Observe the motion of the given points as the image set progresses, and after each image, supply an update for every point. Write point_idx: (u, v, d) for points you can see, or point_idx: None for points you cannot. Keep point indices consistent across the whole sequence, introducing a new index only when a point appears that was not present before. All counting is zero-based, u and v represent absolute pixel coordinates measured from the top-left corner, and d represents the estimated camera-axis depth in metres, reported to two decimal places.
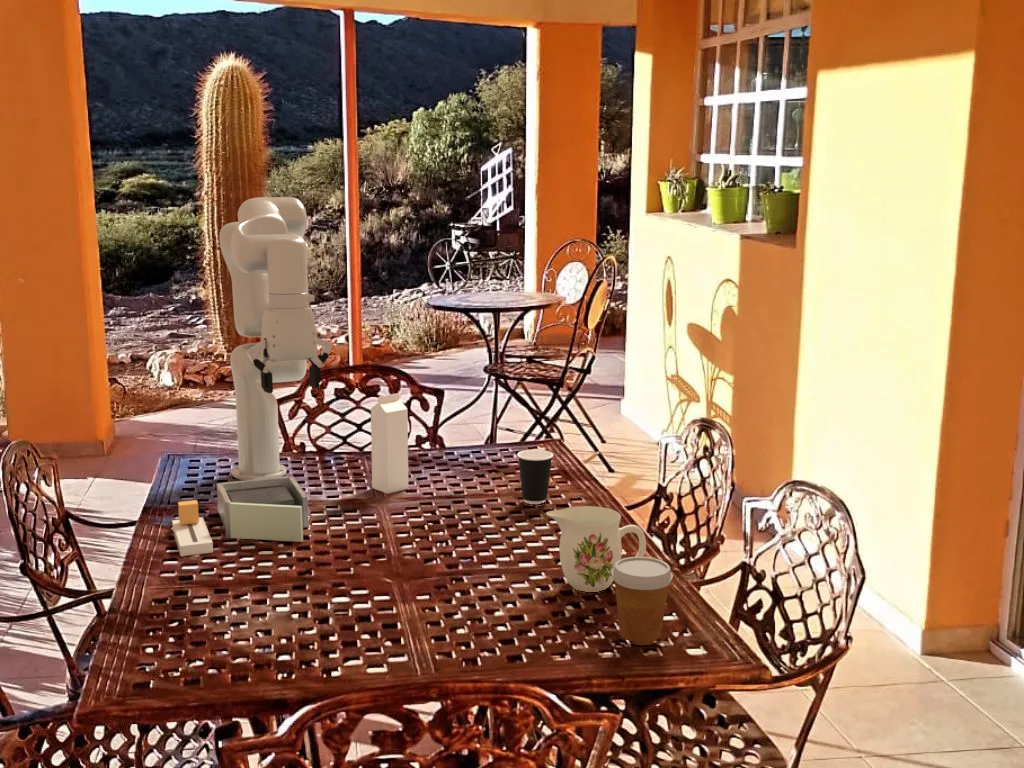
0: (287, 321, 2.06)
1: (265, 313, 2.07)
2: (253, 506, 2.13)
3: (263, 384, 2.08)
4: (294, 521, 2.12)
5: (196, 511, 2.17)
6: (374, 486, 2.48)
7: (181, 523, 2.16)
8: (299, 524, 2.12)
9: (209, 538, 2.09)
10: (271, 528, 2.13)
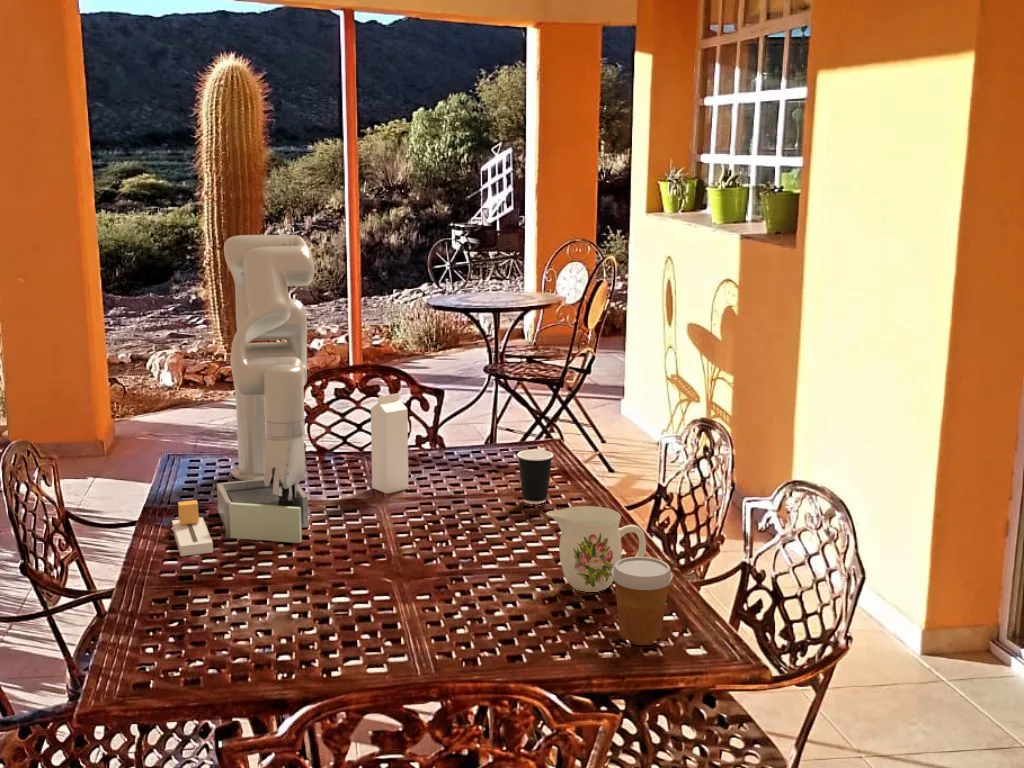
0: (294, 447, 2.10)
1: (273, 443, 2.08)
2: (252, 506, 2.12)
3: None
4: (292, 522, 2.12)
5: (196, 511, 2.17)
6: (374, 486, 2.48)
7: (181, 523, 2.16)
8: (298, 525, 2.11)
9: (209, 538, 2.09)
10: (270, 529, 2.13)
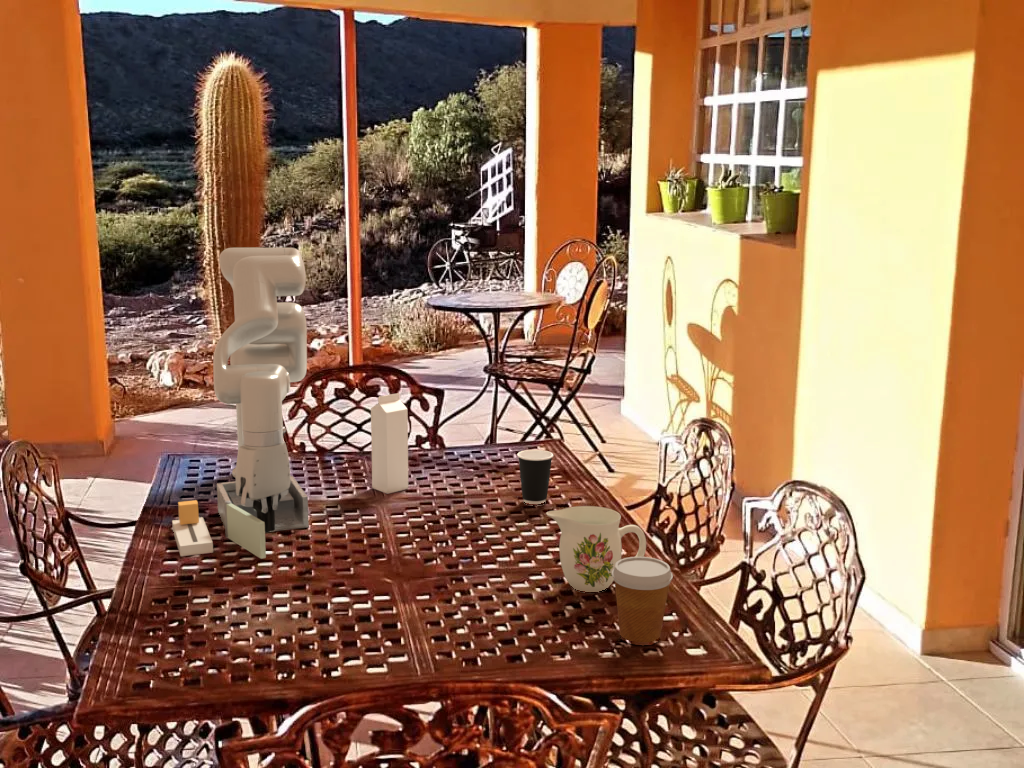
0: (266, 458, 2.03)
1: (242, 451, 2.01)
2: (237, 511, 2.09)
3: None
4: (257, 536, 2.04)
5: (196, 511, 2.17)
6: (374, 486, 2.48)
7: (181, 523, 2.16)
8: (259, 540, 2.03)
9: (209, 538, 2.09)
10: (246, 538, 2.08)
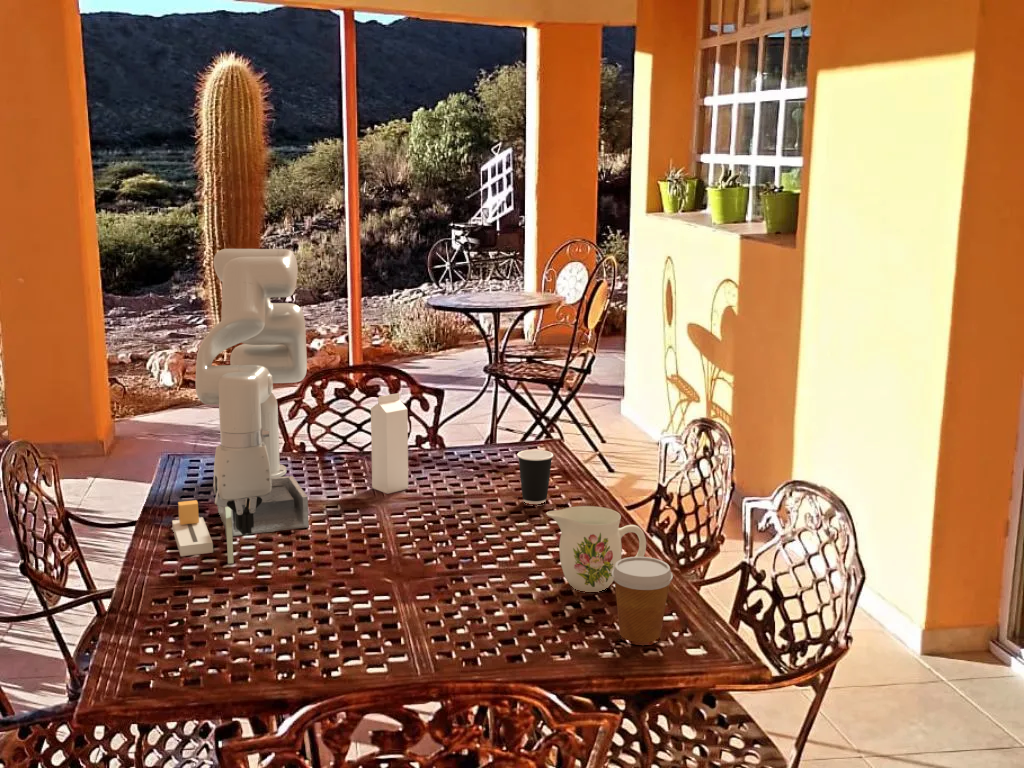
0: (238, 460, 2.01)
1: (216, 451, 2.02)
2: (225, 513, 2.09)
3: (237, 525, 2.05)
4: None
5: (196, 511, 2.17)
6: (374, 486, 2.48)
7: (181, 523, 2.16)
8: (227, 544, 2.01)
9: (209, 538, 2.09)
10: None
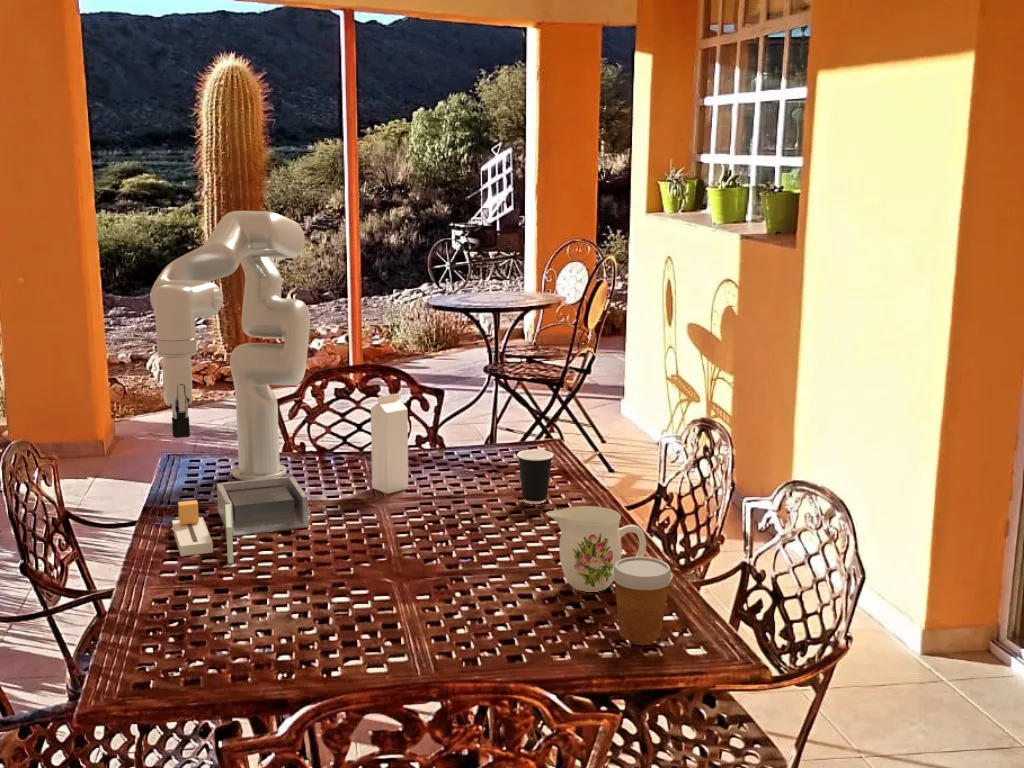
0: None
1: (177, 360, 2.12)
2: (225, 513, 2.09)
3: (183, 430, 2.18)
4: None
5: (196, 511, 2.17)
6: (374, 486, 2.48)
7: (181, 523, 2.16)
8: (227, 544, 2.01)
9: (209, 538, 2.09)
10: None
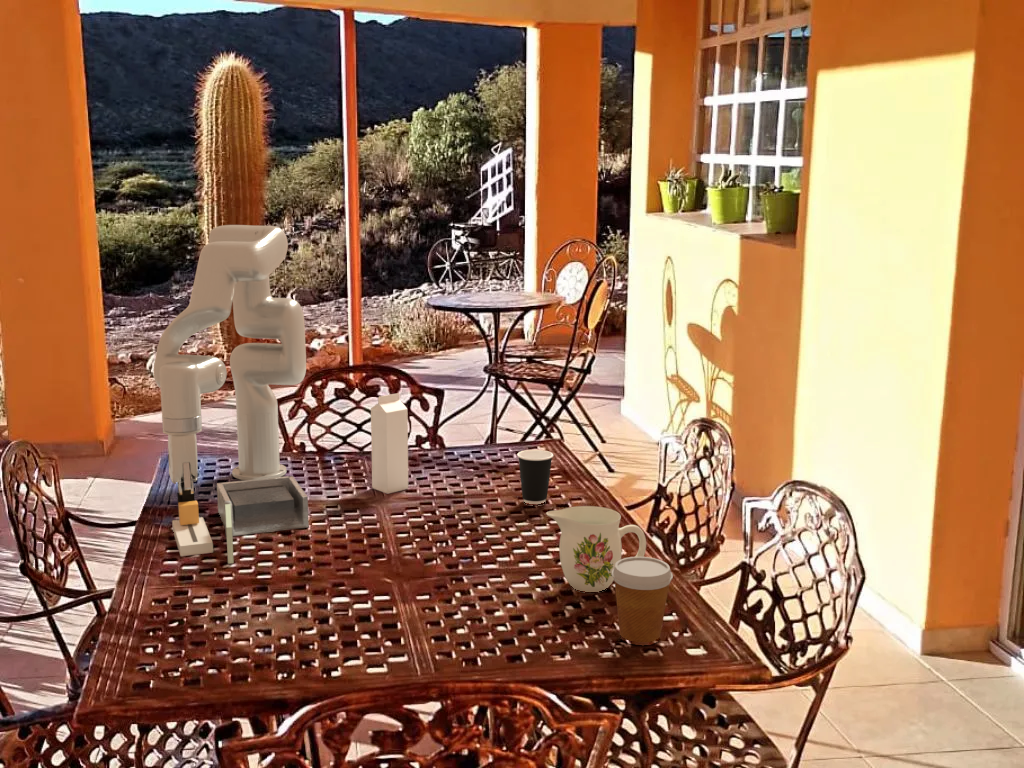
0: None
1: (182, 439, 2.13)
2: (225, 513, 2.09)
3: None
4: None
5: (196, 511, 2.16)
6: (374, 486, 2.48)
7: (181, 523, 2.16)
8: (227, 544, 2.01)
9: (209, 538, 2.09)
10: None
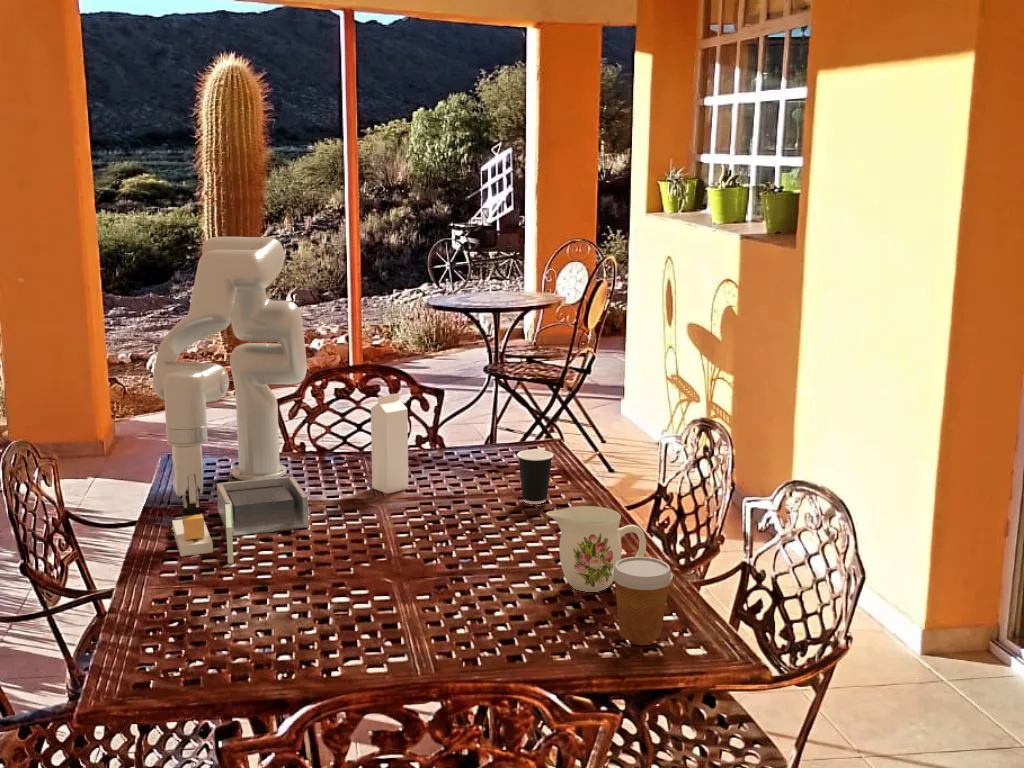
0: None
1: (187, 450, 2.04)
2: (225, 513, 2.09)
3: None
4: None
5: (202, 526, 2.08)
6: (374, 486, 2.48)
7: (186, 538, 2.08)
8: (227, 544, 2.01)
9: (209, 538, 2.09)
10: None
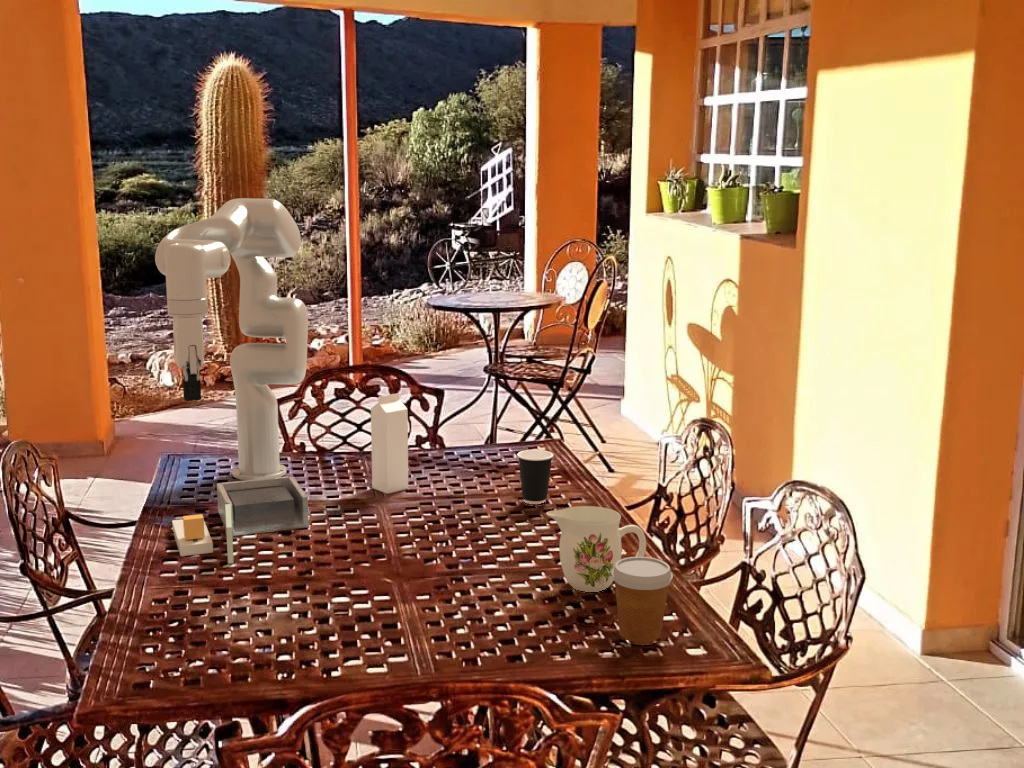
0: None
1: (188, 320, 2.07)
2: (225, 513, 2.09)
3: (194, 393, 2.13)
4: None
5: (202, 526, 2.08)
6: (374, 486, 2.48)
7: (186, 538, 2.07)
8: (227, 544, 2.01)
9: (209, 538, 2.09)
10: None
